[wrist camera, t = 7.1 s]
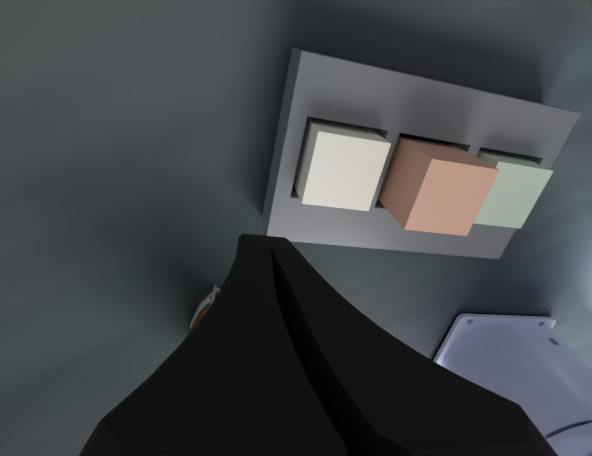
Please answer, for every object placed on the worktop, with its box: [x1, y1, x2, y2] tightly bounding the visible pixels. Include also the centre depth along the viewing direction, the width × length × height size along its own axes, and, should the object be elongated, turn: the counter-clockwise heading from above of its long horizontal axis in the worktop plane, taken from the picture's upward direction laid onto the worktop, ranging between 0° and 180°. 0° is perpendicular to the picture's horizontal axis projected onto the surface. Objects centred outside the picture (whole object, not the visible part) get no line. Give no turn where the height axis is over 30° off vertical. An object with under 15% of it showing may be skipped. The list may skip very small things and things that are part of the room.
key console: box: [262, 47, 581, 259], centre depth 19 cm, size 15×9×2 cm, turn 78°
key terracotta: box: [377, 136, 499, 236], centre depth 17 cm, size 3×3×4 cm
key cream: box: [293, 116, 391, 211], centre depth 18 cm, size 3×3×4 cm
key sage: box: [474, 147, 553, 229], centre depth 20 cm, size 3×3×4 cm
